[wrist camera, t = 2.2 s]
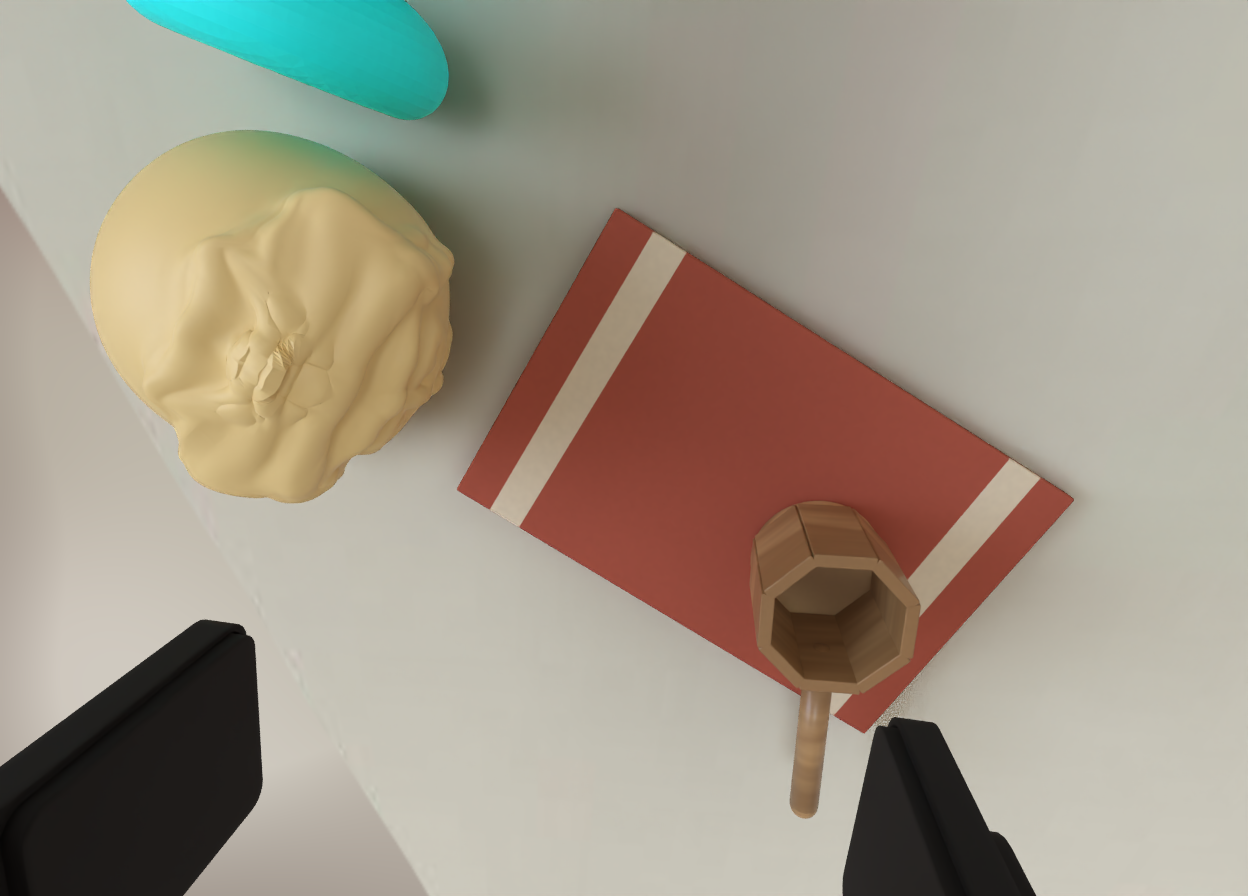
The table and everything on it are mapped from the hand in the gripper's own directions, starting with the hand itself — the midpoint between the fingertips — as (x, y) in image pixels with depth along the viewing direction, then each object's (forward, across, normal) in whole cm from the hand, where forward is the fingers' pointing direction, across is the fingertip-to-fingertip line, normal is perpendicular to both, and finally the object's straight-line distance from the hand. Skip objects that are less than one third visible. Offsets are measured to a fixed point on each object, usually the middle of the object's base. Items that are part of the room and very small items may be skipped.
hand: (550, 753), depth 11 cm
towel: (+22, -5, +3) cm, 22 cm away
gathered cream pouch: (+22, +13, -4) cm, 26 cm away
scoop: (+21, -8, +9) cm, 24 cm away
